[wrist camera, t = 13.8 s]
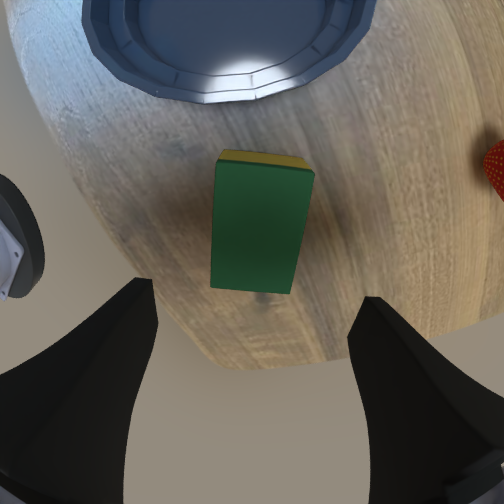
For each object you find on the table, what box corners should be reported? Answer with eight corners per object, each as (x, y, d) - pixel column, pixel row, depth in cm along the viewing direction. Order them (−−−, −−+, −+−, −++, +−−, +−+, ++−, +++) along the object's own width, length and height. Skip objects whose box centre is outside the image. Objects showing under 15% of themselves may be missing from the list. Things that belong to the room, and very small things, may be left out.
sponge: (284, 261, 19) (289, 294, 16) (217, 255, 18) (210, 288, 15) (302, 157, 15) (315, 173, 12) (223, 149, 15) (215, 162, 12)
